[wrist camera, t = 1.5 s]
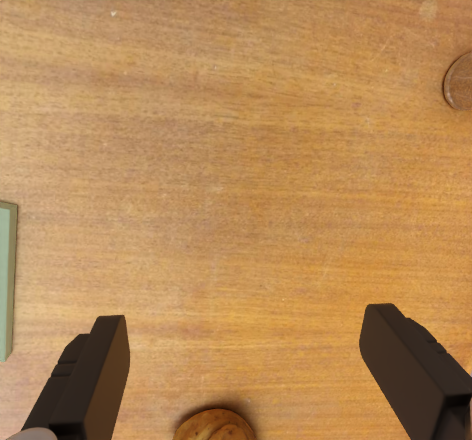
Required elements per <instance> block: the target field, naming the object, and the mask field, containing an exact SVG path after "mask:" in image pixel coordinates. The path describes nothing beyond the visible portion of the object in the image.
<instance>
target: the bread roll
mask: <svg viewBox="0 0 472 440" xmlns="http://www.w3.org/2000/svg"><path fill="white" fill-rule="evenodd" d="M173 440H257V439H256V437H255V434H254V433H253V431H252V429H251V428H250V426H249V425H248V424H247V423H246V421H245V420H244V419H243V418H242V417H241V416H239V415H238V414H236V413H235V412H233V411H231V410H224V409H212V410H207V411H203V412H201V413H198V414H196V415H194V416H193V417H191V418H190V419H189V420H187V421H186V422H184V423H183V424H182V425H181V426H180V427H179V428H178V430H177V431H176V433H175V435H174V438H173Z"/></svg>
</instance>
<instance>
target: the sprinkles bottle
mask: <svg viewBox="0 0 472 440" xmlns="http://www.w3.org/2000/svg"><path fill="white" fill-rule="evenodd" d="M444 94H445V98H446V100H447V102H448V103H449V104H450V105H451V106H452V107H453V108H456V109H458V110H472V52H470V53H467V54H465V55H463V56H461V57H460V58H459V59H458V60H457V61H456V62H455V63H454V64H453V65H452V66H451V68H450V69H449V71H448V73H447V75H446V78H445V82H444Z"/></svg>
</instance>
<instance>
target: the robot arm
mask: <svg viewBox="0 0 472 440" xmlns="http://www.w3.org/2000/svg"><path fill="white" fill-rule="evenodd" d="M359 347H360V352H361V355H362V358H363V360H364V362H365V363H366V365H367V367H368V368H369V370H370V372H371V373H372V375H373V377H374V378H375V380H376V382H377V383H378V385H379V387H380V389H381V390H382V392H383V394H384V395H385V397H386V399H387V400H388V402H389V404H390V405H391V407H392V409H393V410H394V412H395V414H396V415H397V417H398V419H399V420H400V422H401V424H402V425H403V427H404V429H405V430H406V432H407V434H408V435H409V437H410V439H411V440H472V377H471V376H470V375H469V374H468V373H467V372H466V371H465V370H464V369H463V368H462V367H461V366H460V365H459V363H458V362H457V361H456V360H455V359H454V358H453V357H452V356H451V355H450V354H449V353H447V352H446V350H445V349H444V347H443V346H442V345H441V344H440V343H437V340H436V339H435V338H434V337H433V336H432V335H431V334H430V333H429V331H428V330H427V329H426V328H424V327H423V326H421V325H420V324H418V323H417V322H415V321H414V320H412V319H411V318H406V317H405V316H404V315H403V314H402V313H401V312H400V311H399V310H398V308H397V307H396V306H395V305H394V304H392V303H384V304H369V305H367V307H366V310H365V314H364V319H363V324H362V329H361V334H360V340H359ZM129 367H130V350H129V342H128V335H127V327H126V320H125V317H124V315H111V316H99V317H98V318H97V319H96V321H95V323H94V326H93V328H92V330H91V332H90V334H79V335H78V336H77V337H76V338H75V339H74V340H72V341H71V342H70V343H69V344H68V345H67V346H66V347H65V349H64V351H63V353H62V355H61V357H60V358H59V360H58V364H57V365H56V366H55V368H54V370H53V372H52V373H51V377H50V378H49V379H48V381H47V383H46V385H45V387H44V388H43V390H42V392H41V394H40V396H39V398H38V400H37V402H36V403H35V405H34V407H33V409H32V411H31V413H30V415H29V417H28V418H27V420H26V422H25V424H24V426H23V428H22V429H21V431H20V432H18V433H16V434H14V435H12V436H11V437H9V438H8V439H6V440H111V438H112V435H113V431H114V427H115V423H116V419H117V415H118V412H119V408H120V404H121V400H122V396H123V392H124V389H125V385H126V381H127V377H128V373H129Z"/></svg>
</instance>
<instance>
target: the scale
mask: <svg viewBox="0 0 472 440" xmlns="http://www.w3.org/2000/svg"><path fill="white" fill-rule="evenodd" d="M16 226H17V205H14V204H9V203H4V202H0V362H5V361H6V360H7V358H8V357H9V356H10V354H11V350H12V325H13V300H14V276H15V251H16Z"/></svg>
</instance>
